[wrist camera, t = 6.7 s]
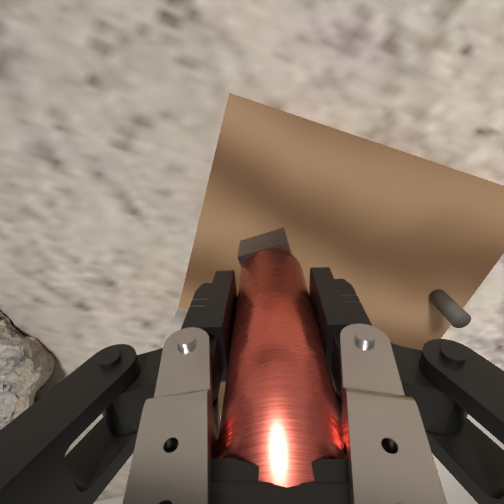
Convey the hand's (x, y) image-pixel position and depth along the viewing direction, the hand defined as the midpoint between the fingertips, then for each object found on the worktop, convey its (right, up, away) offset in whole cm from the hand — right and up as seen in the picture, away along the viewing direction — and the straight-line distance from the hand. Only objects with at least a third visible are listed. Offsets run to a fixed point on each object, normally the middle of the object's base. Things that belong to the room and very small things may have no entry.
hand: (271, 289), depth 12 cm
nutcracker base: (+3, -2, +8) cm, 9 cm away
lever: (+2, -5, +7) cm, 9 cm away
